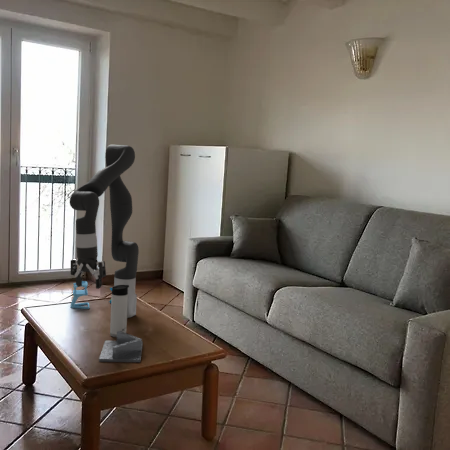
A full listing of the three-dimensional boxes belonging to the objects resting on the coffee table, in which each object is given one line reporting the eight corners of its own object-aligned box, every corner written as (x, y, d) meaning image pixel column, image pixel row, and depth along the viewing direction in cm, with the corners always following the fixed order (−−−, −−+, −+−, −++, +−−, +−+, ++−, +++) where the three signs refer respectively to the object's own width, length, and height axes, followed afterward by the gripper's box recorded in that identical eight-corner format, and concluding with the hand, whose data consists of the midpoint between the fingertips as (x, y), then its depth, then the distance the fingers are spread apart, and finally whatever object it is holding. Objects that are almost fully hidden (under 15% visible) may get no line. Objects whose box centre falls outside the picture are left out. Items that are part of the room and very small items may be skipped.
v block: (98, 361, 177) (99, 347, 176) (105, 343, 195) (105, 330, 194) (140, 362, 179) (140, 348, 178) (142, 343, 196) (143, 331, 196)
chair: (70, 304, 241) (70, 279, 239) (88, 304, 243) (89, 279, 241) (70, 309, 233) (70, 283, 232) (89, 309, 236) (90, 283, 234)
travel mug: (127, 337, 203) (130, 287, 200) (110, 337, 201) (112, 287, 198) (126, 331, 208) (128, 283, 206) (109, 332, 207) (111, 283, 204)
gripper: (108, 244, 194) (110, 286, 196) (77, 242, 199) (79, 283, 201) (96, 248, 187) (98, 291, 189) (64, 245, 192) (66, 288, 194)
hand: (88, 287), depth 195 cm, fingers open, 8 cm apart
